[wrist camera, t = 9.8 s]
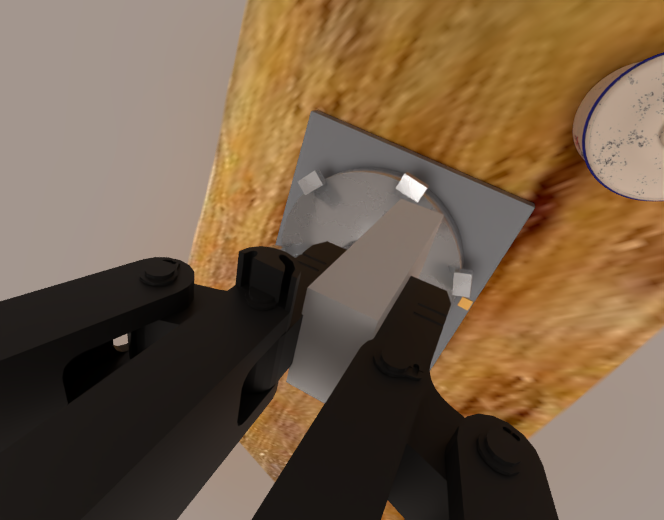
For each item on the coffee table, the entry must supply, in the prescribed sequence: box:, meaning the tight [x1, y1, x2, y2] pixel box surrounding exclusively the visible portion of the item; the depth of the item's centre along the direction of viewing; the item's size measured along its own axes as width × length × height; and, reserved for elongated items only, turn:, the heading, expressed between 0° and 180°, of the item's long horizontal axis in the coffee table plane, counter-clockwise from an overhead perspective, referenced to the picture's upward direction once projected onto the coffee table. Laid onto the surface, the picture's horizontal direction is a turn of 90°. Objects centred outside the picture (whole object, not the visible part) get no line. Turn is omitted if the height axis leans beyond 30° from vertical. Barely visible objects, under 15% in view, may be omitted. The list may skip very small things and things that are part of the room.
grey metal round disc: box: [271, 167, 473, 313], centre depth 40 cm, size 20×22×8 cm
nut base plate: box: [276, 110, 535, 370], centre depth 44 cm, size 24×24×2 cm
